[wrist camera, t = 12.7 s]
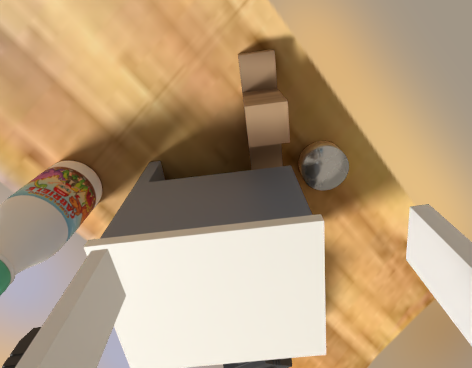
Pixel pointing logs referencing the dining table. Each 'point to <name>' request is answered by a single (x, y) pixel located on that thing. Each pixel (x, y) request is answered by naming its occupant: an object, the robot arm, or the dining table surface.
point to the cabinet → (217, 269)
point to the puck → (323, 165)
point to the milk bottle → (44, 216)
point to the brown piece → (263, 109)
